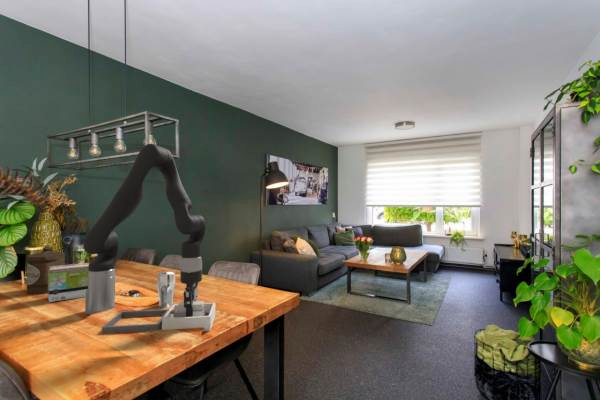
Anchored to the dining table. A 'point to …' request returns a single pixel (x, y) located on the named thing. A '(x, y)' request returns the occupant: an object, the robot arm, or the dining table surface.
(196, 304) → the off-white cube
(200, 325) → the bin
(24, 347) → the dining table surface
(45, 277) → the wooden container
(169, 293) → the silver metal goblet
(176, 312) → the scoop
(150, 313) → the tray
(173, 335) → the dining table surface
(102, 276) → the robot arm
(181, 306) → the light grey cube block
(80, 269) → the tea box
